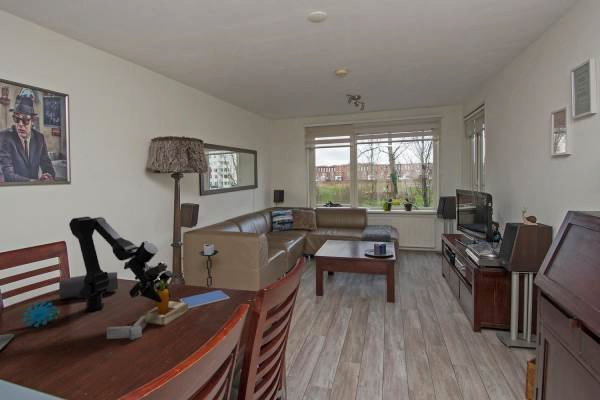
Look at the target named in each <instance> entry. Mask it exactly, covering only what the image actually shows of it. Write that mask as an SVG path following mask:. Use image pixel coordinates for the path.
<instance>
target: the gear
mask: <svg viewBox="0 0 600 400" xmlns="http://www.w3.org/2000/svg"><path fill="white" fill-rule="evenodd" d="M33 307H34V309H32V307H31V306H29V307H27V308H26V310H27V312H26V311H25V312H24V313H23V315H22V316H23V317H24V318H23V322H24V323H27V326H29V327H31V326H32V325H33V326H34V327H35V328H39V327H40V324H42V326H46V325H47V323H48V322H47V319H48V321H49V322H52V321H54V320H57V319H58V316H59V315H60V314H61V310H59V309H58V310H56V309H57V308H56V305H53V303H52V302H51V301H50V302H48V303H47V302H46V301H43V300H42V301H41V303H40V305H39V303H38V302H34V303H33ZM51 310H52V311H51ZM55 310H56V311H55ZM28 312H30V314H29V313H28ZM27 317H29V318H27ZM30 321H31V322H30Z"/></svg>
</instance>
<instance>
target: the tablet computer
mask: <svg viewBox="0 0 600 400" xmlns="http://www.w3.org/2000/svg"><path fill="white" fill-rule="evenodd" d="M229 299H230V297H229V296H228V295H227V294H225V293H224V292H223V291H222V290H213V291H209V292H206V293H202V294H196V295H191V296H187V297H183V298H179V302H180V303H188V310H189V309H193V308H197V307H202V306H205V305H210V304H212V303H218V302H221V301H226V300H229Z"/></svg>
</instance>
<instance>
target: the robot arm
mask: <svg viewBox="0 0 600 400" xmlns="http://www.w3.org/2000/svg"><path fill="white" fill-rule="evenodd" d="M68 225H69V229H70V231H71V234H72V236H74V237H75V238H76V239H77V240H78V243H79V247H80V252H81V255H82V259H83V263H84V267H85V272H86V273H85V275H86V276H85V279H84V285H85V286H84V287H83V288H82V290H81V291H80V292H79V294H80V297H84V298H85V308H84V313H88V312H95V311H101V310H103V309H104V305H105V303H104V302H103V294H104V293H107V292H108V291H107V287H108V285H109V278H108V273H109V272H107V271H103V270H102V269H101V265H100V262H99V258H98V255H97V249H96V246H95V242H94V237H93V235H94V232H95V231H96V232H97V233H98V234H99V235H100V236H101V237H102V238H103V240H104V241H105V242H107V243H108V245H110V246H111V248H112V249H111V250H112V253H113V254H114V256H115V258H116V259H117V260H118V261H123V262H124V261H126V260H128V261H126V262H124V266H123V269H124V270H128V269H129V270H130V271H131V272H132V273H133V274H134V275H135V277H134V280H135V281H137V280H138V281H139V282H137V283H135V284H134V286H133V287H132V288H131V289H130V290H129V296H130V297H131V298H132V299H134V298H136V297H139V296H140V297H144V298H147V299H150V300H151V301H154V302H156V301H157V302H159V303H161V302H162V300H161V298H160V297H159V295H158V294H157V293H156V291H158V290H160V287H159V283H160V281H162V282H164V284H165V283H166V282H168V281H169V280H170V279H171V278H172V276H174V274H173V273H172V271H171V270H167V268H168V265H167V263H166V262H165V261H164V260H162V261H160V262H157V265H155V266H153V265H150V266H149V265H148V264H147V263H149V262H150V261H151V260H152V259H153V258H154V257H155V255H156V254H157V253H158V252H159V249H158V247H157V245H155V244H153V243H151V242H148V240H145V241H142V242H141V244H140V245H139V246H137V245H136V244H134V243H133V242H131V241H130V240H128V239H124V238H123V237H122V236H121V235H120V234H119V233H118V232H117V231H116V230H115V229H114V228H113V227H112V226H111V225H110V224H109V223H108V222H107V221H106V218H104V217H102V216H100V217H99V216H98V217H93V218H92V217H91V216H80V217H73V218H71V220H70V222H69V223H68ZM164 284H163V285H164ZM155 285H156V286H157V287H155ZM164 289H167V290H168V292H169V299H170V298H171V293H170V291H169V290H170V289H169V287H168V283H167V284H166V286H165V288H164ZM106 291H107V292H106ZM103 292H104V293H103ZM102 293H103V294H102ZM140 293H141V294H140ZM139 294H140V295H139ZM84 298H83V299H84ZM157 302H156V303H157Z"/></svg>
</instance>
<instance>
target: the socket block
mask: <svg viewBox="0 0 600 400" xmlns="http://www.w3.org/2000/svg"><path fill="white" fill-rule="evenodd" d="M188 311H189V309H188V303H181V301H173V300H172V301H171V300H169V304H168V310H167V313H166V315H160V314H159V312H158V308H157V306H156V307H154V308H152V309H150V310H149V311H146V312H145V313H143V314H142V316H146V324H155V325H162V326H166V325H168V324H169V323H171V322H172V321H174V320H175V319H177V318H179V317H181V315H183V314H185V313H186V312H188Z"/></svg>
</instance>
